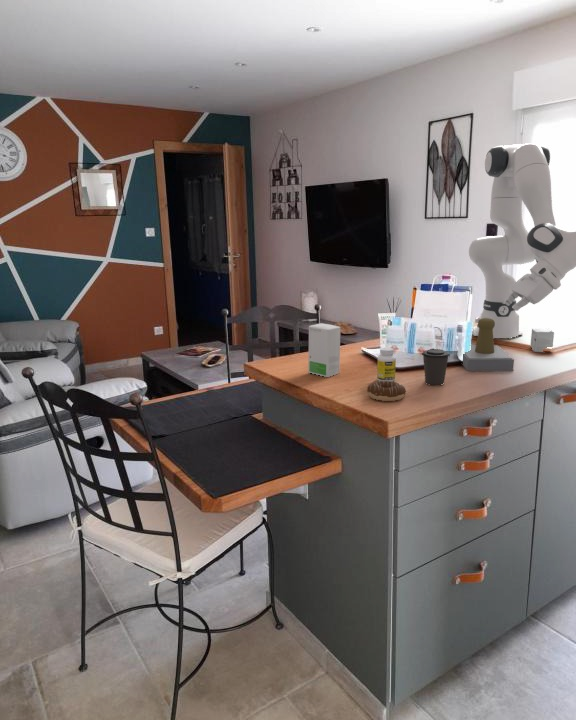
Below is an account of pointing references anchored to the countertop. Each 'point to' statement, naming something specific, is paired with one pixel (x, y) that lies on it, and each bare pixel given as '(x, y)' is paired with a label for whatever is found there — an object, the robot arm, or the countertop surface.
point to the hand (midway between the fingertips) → (509, 306)
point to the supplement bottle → (386, 365)
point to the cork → (485, 336)
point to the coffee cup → (435, 366)
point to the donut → (386, 391)
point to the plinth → (488, 360)
